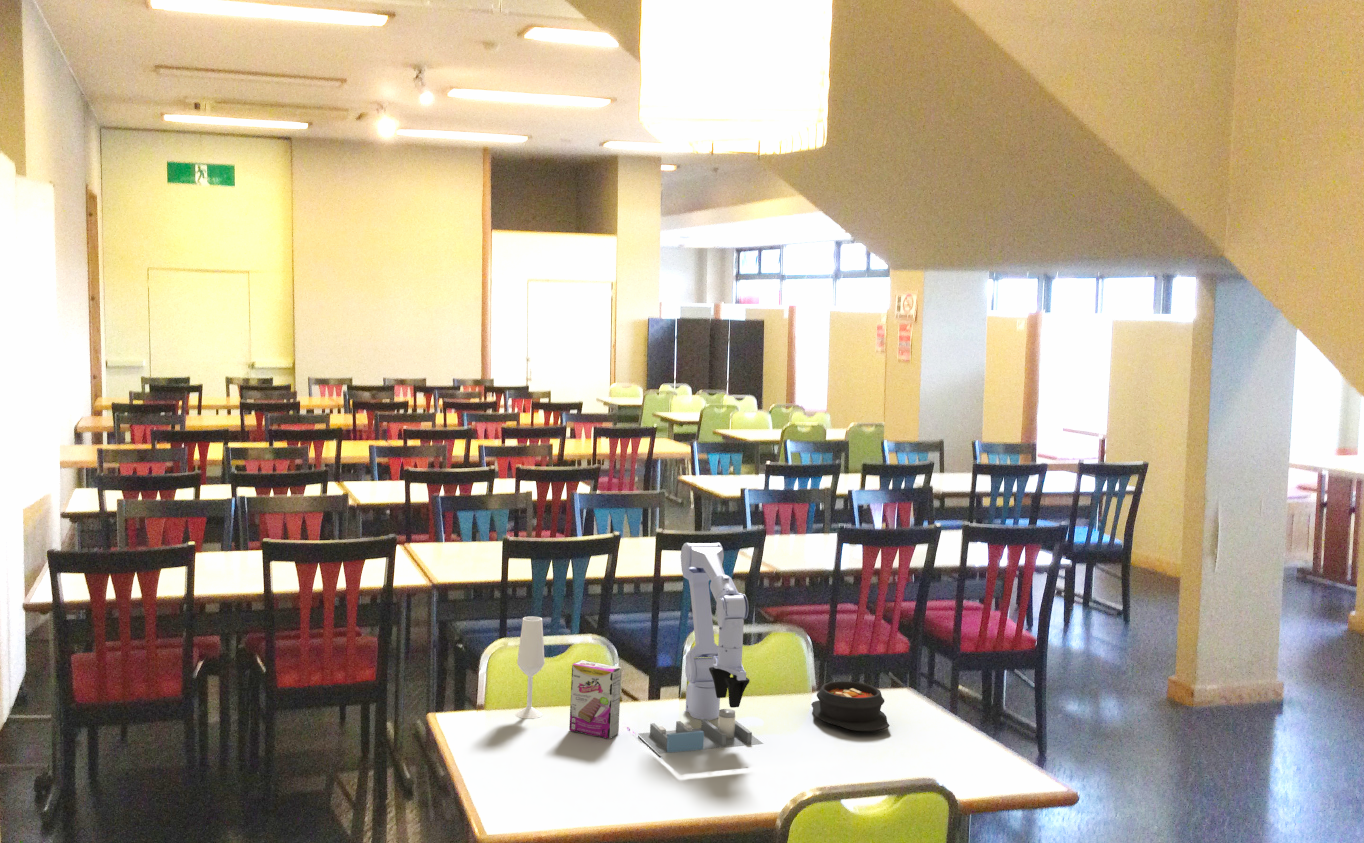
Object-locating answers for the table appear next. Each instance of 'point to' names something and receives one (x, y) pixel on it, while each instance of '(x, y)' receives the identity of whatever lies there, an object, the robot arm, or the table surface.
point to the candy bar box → (595, 699)
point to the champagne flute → (531, 659)
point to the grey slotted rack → (695, 738)
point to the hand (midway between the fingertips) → (727, 702)
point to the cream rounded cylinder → (727, 722)
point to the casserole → (851, 706)
